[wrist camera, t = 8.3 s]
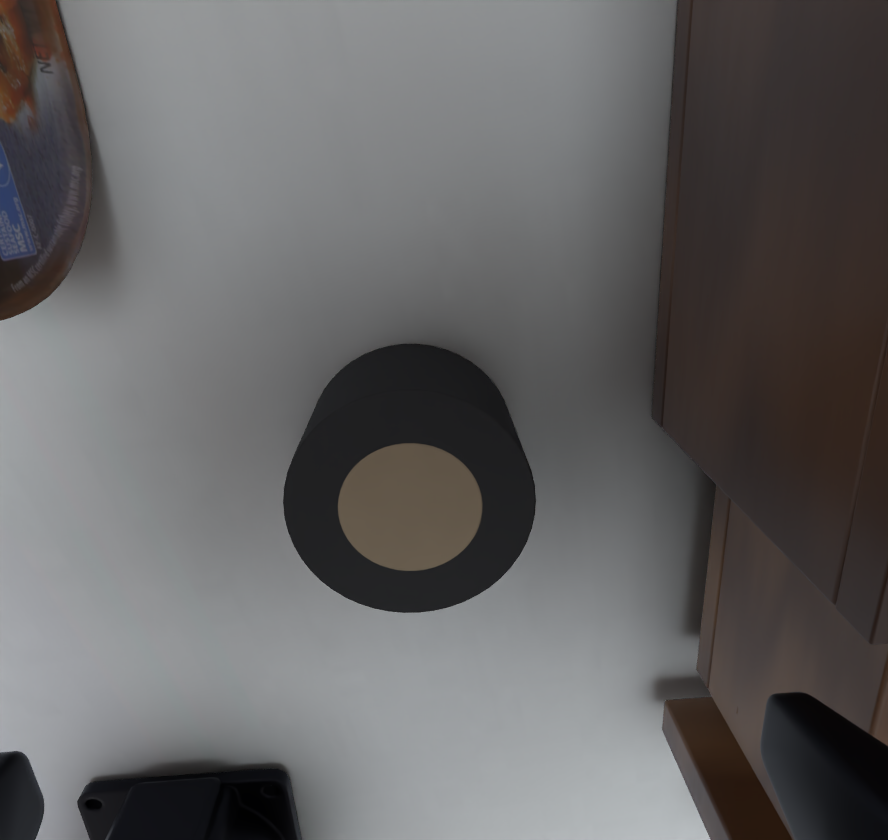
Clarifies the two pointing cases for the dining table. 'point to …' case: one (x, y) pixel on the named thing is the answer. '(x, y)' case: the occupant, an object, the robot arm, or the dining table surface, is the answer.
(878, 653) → the drawer
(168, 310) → the dining table surface
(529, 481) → the tape
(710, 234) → the cabinet
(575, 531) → the dining table surface
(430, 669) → the dining table surface
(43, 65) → the tin
